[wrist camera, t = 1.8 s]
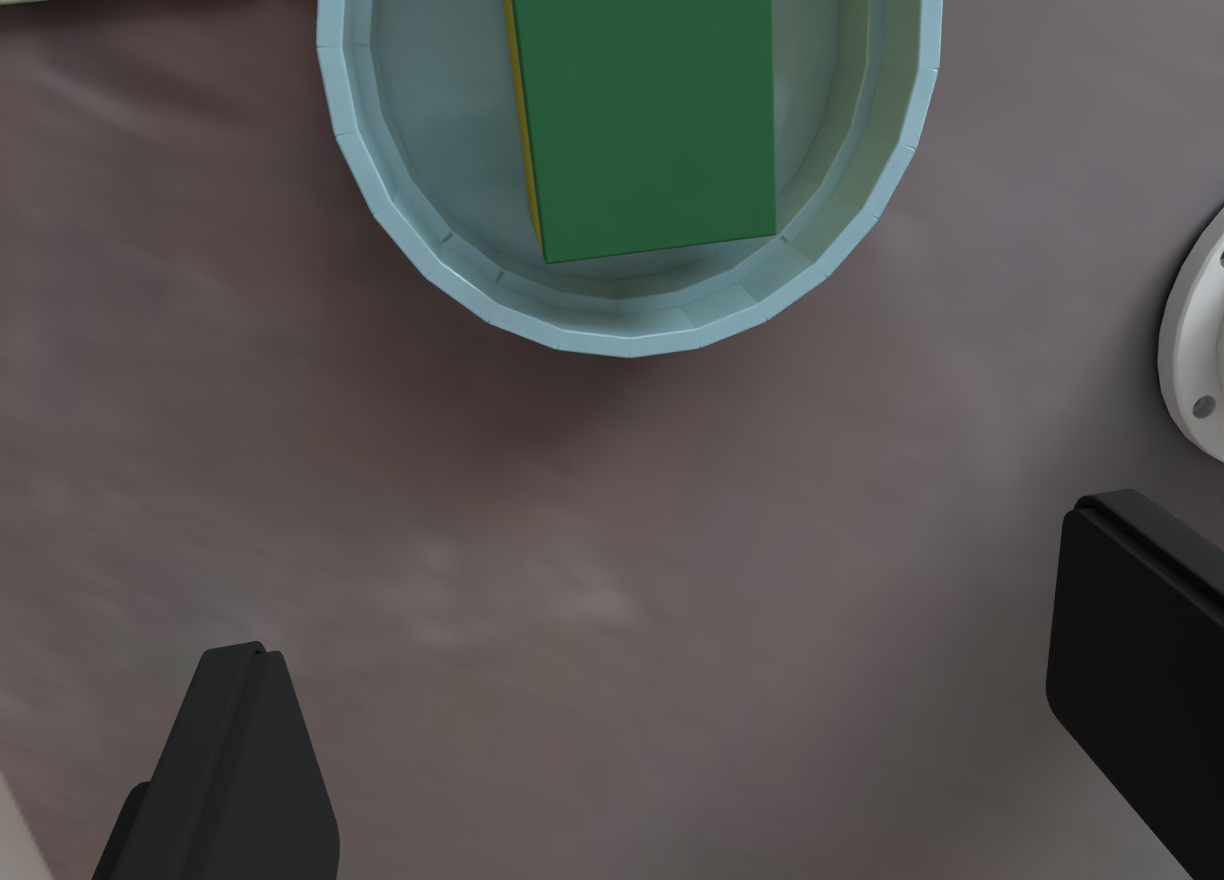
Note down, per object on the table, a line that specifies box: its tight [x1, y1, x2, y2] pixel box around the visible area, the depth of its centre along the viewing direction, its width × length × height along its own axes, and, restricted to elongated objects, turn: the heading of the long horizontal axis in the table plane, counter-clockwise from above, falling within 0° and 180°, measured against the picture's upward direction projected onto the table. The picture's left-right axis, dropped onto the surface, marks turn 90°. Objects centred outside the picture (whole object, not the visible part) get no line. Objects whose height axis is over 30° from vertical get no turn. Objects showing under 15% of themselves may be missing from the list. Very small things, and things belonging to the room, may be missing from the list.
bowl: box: [316, 0, 943, 358], centre depth 25 cm, size 15×15×5 cm
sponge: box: [503, 0, 777, 264], centre depth 24 cm, size 9×6×6 cm, turn 5°
